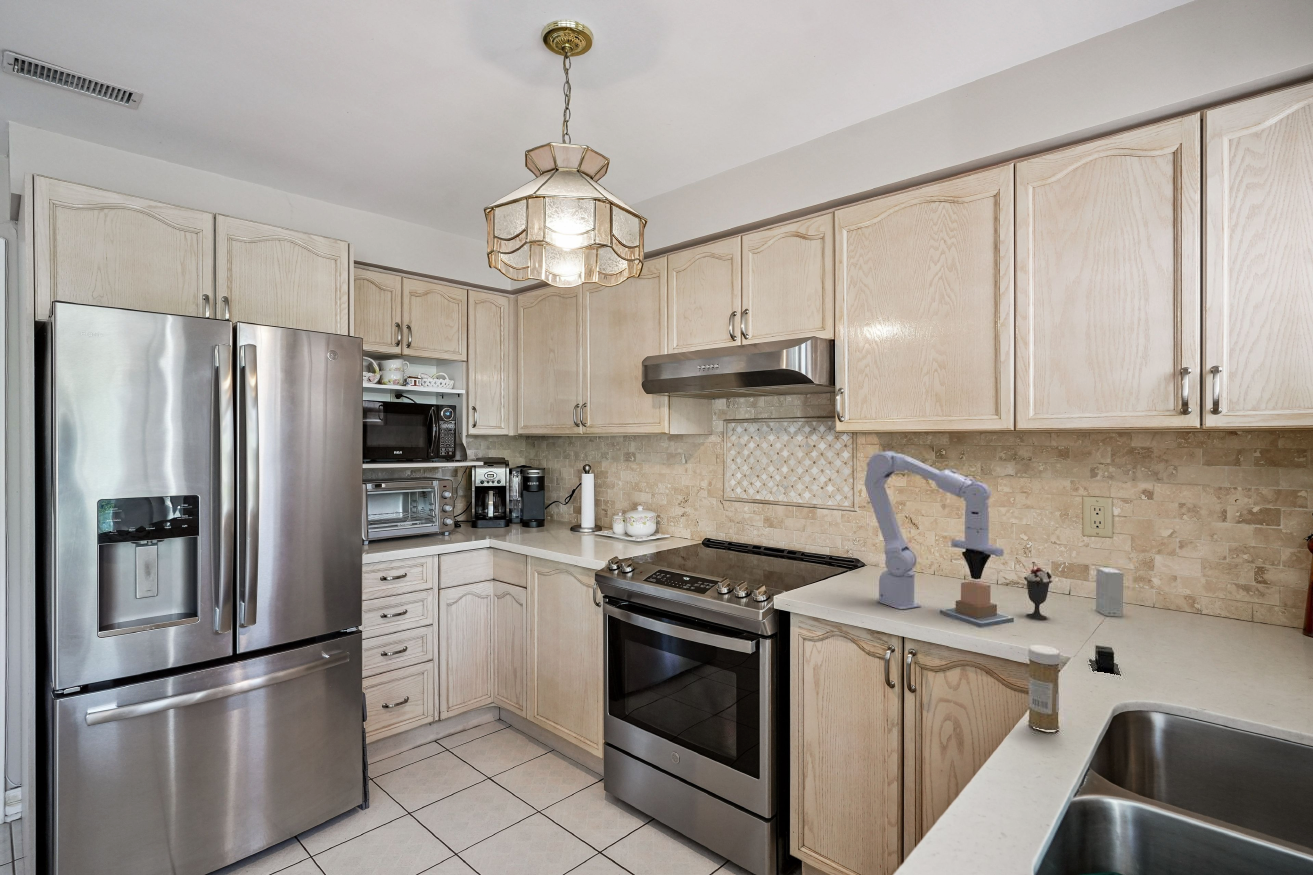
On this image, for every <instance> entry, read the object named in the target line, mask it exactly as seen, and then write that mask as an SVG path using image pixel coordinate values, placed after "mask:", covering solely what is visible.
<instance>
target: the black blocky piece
mask: <svg viewBox="0 0 1313 875" xmlns="http://www.w3.org/2000/svg"><path fill="white" fill-rule="evenodd" d="M1094 647H1095V649H1094V656H1095V657H1094V659H1095V660H1092V659H1093V658H1088V659H1089V662H1090V663H1091V664H1088V666H1089V665H1090V666H1091V668H1092V671H1093V672H1094V671H1097V672H1104V673H1110V674H1114V675H1115V674H1116V675H1120V676H1121V674H1120V671H1119V668H1120V667H1119V668H1118V665H1119V663H1118V664H1116V663H1117V662H1116V663H1114V662H1115V651H1114V649H1113V647H1111V646H1106V645H1105V646H1104V645H1094Z"/></svg>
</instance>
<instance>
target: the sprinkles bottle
mask: <svg viewBox="0 0 1313 875" xmlns="http://www.w3.org/2000/svg"><path fill="white" fill-rule="evenodd" d="M1027 653H1028V654H1027V656H1028V661H1029V671H1028V706H1029V707H1028V721H1027V723H1029V724H1028V726H1030V725H1031V726H1032V727H1035V728H1039V729H1044V730H1057V729H1059V730H1060V726H1059V710H1060V693H1059V688H1060V687H1059V685H1060V684H1059V679H1060V678H1059V676H1060V675H1059V666H1060V662H1061V653H1060V651H1059V650H1058V649H1056V648H1054V647H1051V646H1048V645H1042V644H1041V645H1040V644H1034V645H1033V644H1032V645H1030V646H1029V647H1028V652H1027ZM1031 726H1030V727H1031ZM1032 727H1031V728H1032Z"/></svg>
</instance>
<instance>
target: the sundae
mask: <svg viewBox="0 0 1313 875" xmlns="http://www.w3.org/2000/svg"><path fill="white" fill-rule="evenodd" d="M1031 564H1032V569H1030V572H1029V573H1028V574H1027V575H1026V576H1024V577H1023V579H1024V581H1026V588H1027V596H1028V599H1029V601H1030V602H1032V604H1033V605H1034V609H1033V612H1032V613H1026V615H1025V616H1026V617H1027V618H1029V619H1033V620H1037V621H1038V620H1039V621H1045V620H1048V617H1047V616H1046V615H1043V614H1042V613H1041V611H1040V606H1041V605H1042V604H1044V603H1046V600H1047V598H1048V593H1049V588H1050V585H1051V583H1053V580H1052V578H1053V576H1052V575H1051V573H1050V572H1049V571H1045V570H1043V569H1042V568H1041V567H1038V566H1036V568H1035V565H1036V562H1035V561H1032V563H1031ZM1034 568H1035V569H1034Z"/></svg>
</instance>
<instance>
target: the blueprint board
mask: <svg viewBox="0 0 1313 875" xmlns="http://www.w3.org/2000/svg"><path fill="white" fill-rule="evenodd" d="M939 614H940V615H943V616H945V617H948V618H952V619H954V620H958V621H961V622H964V623H967V624H970V625H973V626H976V627H979V628H986V627H991V626H997V625H1002V624H1007V623H1008V624H1009V623H1013V622H1014V620H1015V618H1014V617H1012V616H1010V615H1006V614H1003V613H1000V612H998V604H996V603H993V602H990V604H987V605H981V606H975V605H972V604H968V603H965V602H962V601H961V599H957V600H955V607H949V608H942V609H939Z"/></svg>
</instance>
